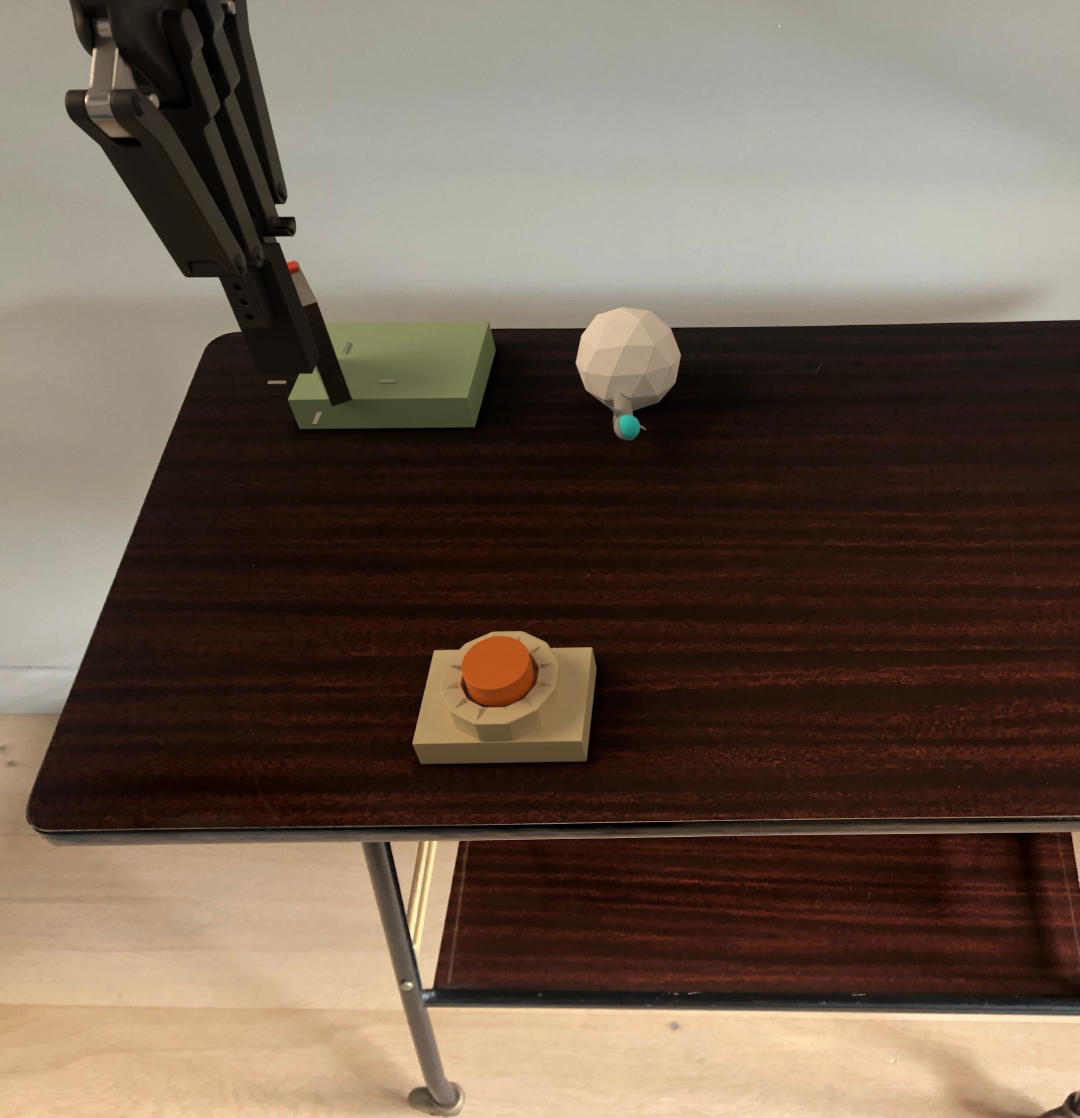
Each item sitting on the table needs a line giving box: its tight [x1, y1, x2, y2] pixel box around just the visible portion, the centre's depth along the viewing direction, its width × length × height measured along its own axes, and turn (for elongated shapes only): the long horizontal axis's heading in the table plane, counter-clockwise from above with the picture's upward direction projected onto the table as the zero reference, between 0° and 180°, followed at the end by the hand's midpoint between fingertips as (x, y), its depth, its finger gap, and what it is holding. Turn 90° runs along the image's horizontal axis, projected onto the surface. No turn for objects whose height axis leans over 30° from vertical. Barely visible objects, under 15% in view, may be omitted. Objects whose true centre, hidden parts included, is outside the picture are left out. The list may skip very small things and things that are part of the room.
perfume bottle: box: [575, 306, 682, 441], centre depth 87 cm, size 8×8×12 cm
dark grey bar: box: [286, 260, 352, 406], centre depth 85 cm, size 6×2×9 cm, turn 28°
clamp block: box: [267, 320, 497, 430], centre depth 91 cm, size 16×13×3 cm
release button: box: [461, 636, 534, 707], centre depth 67 cm, size 4×4×2 cm
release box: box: [412, 630, 598, 765], centre depth 69 cm, size 10×7×4 cm
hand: (289, 364), depth 57 cm, fingers closed
